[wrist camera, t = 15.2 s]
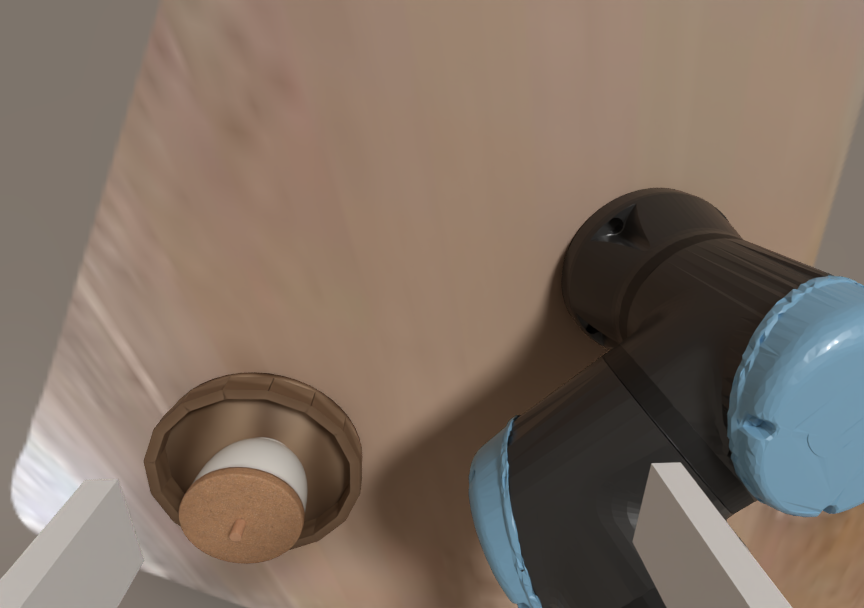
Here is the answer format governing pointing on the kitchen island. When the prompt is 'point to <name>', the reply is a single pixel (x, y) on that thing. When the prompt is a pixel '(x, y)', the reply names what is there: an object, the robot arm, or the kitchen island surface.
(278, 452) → the lidded jar
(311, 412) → the walnut tray
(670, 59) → the kitchen island surface
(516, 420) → the robot arm
